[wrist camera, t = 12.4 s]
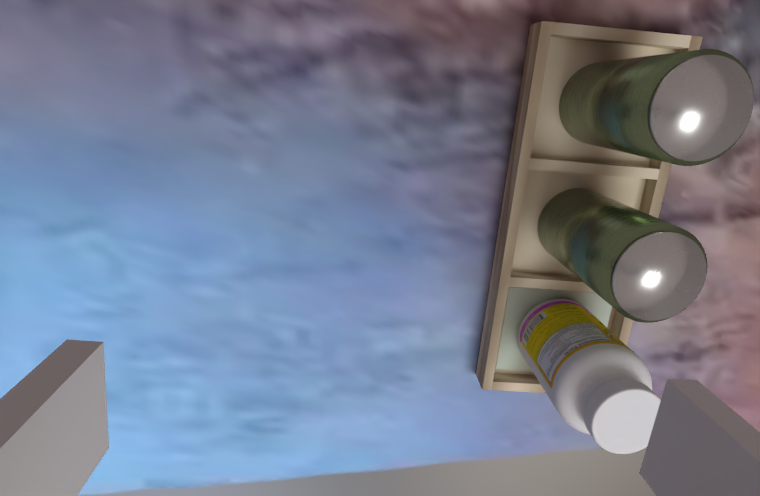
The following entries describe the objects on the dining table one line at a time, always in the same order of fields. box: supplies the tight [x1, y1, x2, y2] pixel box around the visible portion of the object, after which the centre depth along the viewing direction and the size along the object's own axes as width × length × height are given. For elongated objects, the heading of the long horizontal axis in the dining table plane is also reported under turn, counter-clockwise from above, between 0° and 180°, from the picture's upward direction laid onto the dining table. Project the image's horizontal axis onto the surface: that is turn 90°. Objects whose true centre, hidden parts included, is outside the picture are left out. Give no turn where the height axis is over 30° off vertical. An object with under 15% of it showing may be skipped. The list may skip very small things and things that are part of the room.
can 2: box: [538, 188, 707, 322], centre depth 36 cm, size 6×6×12 cm
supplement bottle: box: [518, 299, 661, 454], centre depth 38 cm, size 7×7×13 cm
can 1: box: [559, 49, 754, 166], centre depth 33 cm, size 6×6×12 cm
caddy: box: [476, 21, 702, 393], centre depth 42 cm, size 12×29×2 cm, turn 175°
